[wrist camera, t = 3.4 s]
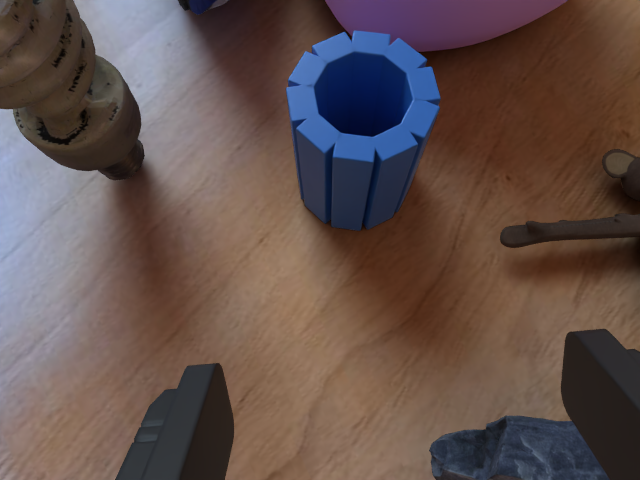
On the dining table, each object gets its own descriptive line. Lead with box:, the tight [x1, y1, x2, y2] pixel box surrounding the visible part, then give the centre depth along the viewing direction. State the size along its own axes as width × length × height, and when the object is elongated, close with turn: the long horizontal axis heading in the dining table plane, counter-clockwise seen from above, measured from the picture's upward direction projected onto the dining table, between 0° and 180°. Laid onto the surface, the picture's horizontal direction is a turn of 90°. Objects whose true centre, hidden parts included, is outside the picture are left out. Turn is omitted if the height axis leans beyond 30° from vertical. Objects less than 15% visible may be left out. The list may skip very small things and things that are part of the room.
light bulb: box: [0, 0, 145, 180], centre depth 22 cm, size 6×6×15 cm
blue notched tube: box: [286, 30, 441, 231], centre depth 25 cm, size 6×7×8 cm
